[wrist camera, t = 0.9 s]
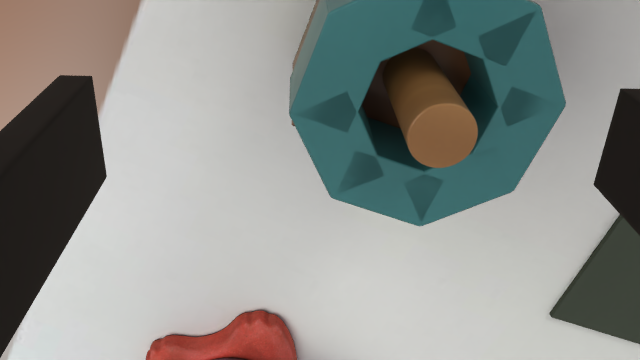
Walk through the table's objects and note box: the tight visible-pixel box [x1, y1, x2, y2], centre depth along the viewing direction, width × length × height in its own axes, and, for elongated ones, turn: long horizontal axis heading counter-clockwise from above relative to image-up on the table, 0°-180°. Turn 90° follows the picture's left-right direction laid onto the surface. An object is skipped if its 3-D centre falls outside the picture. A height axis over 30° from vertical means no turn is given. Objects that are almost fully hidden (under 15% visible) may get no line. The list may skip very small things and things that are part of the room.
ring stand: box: [292, 0, 478, 168], centre depth 27 cm, size 8×8×16 cm
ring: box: [289, 0, 566, 226], centre depth 24 cm, size 10×10×4 cm
